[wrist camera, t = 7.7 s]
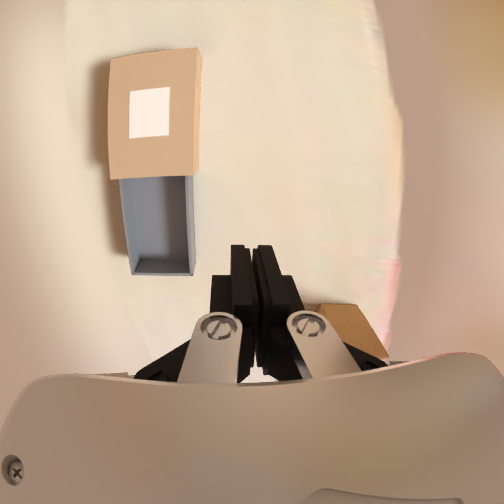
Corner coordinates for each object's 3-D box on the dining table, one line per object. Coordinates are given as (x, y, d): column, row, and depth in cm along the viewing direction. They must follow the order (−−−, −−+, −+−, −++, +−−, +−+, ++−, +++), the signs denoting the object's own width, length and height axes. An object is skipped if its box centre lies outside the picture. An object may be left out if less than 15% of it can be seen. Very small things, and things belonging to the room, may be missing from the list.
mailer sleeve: (126, 67, 28) (110, 59, 23) (202, 59, 29) (197, 47, 24) (126, 171, 35) (109, 179, 30) (198, 167, 36) (193, 175, 31)
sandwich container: (297, 357, 55) (313, 414, 42) (319, 302, 49) (346, 362, 35) (332, 357, 57) (353, 409, 43) (357, 304, 50) (390, 357, 37)
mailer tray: (129, 168, 35) (118, 173, 31) (192, 164, 35) (188, 169, 32) (139, 260, 41) (131, 274, 37) (195, 261, 42) (193, 275, 38)
